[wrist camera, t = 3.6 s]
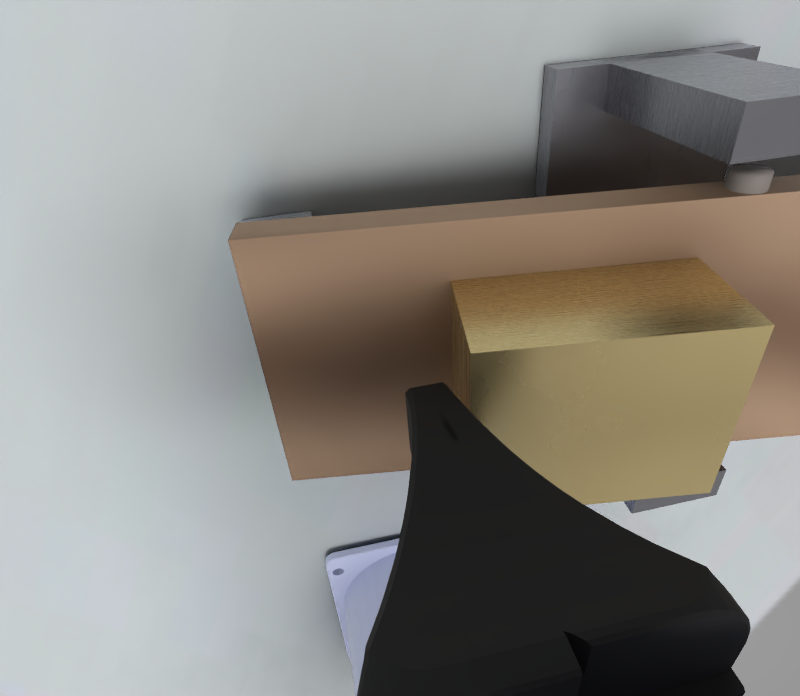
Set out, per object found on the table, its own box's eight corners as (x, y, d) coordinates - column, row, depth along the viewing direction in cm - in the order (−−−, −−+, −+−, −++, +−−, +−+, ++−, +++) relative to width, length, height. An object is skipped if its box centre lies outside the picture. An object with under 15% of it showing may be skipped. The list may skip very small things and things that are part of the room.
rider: (657, 411, 16) (709, 492, 14) (454, 430, 16) (470, 515, 14) (698, 257, 13) (774, 325, 11) (450, 280, 13) (470, 353, 11)
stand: (842, 341, 24) (985, 434, 19) (297, 445, 21) (306, 585, 16) (1001, 14, 17) (1292, 33, 12) (212, 101, 14) (185, 172, 9)
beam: (1020, 400, 18) (1164, 496, 15) (297, 465, 18) (284, 576, 15) (1238, 120, 13) (1529, 174, 10) (232, 206, 13) (188, 290, 10)
